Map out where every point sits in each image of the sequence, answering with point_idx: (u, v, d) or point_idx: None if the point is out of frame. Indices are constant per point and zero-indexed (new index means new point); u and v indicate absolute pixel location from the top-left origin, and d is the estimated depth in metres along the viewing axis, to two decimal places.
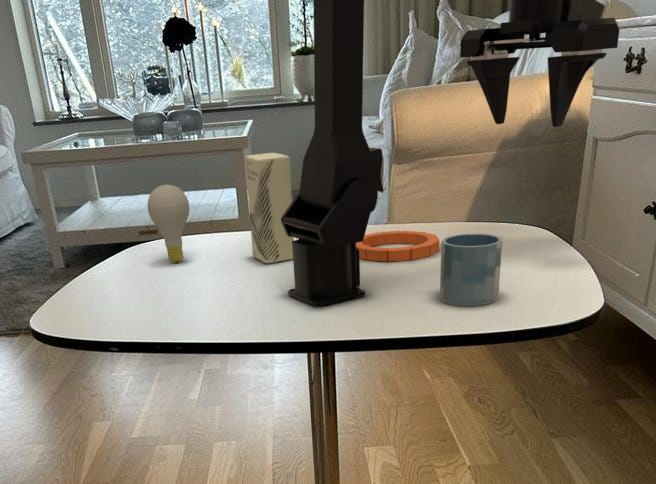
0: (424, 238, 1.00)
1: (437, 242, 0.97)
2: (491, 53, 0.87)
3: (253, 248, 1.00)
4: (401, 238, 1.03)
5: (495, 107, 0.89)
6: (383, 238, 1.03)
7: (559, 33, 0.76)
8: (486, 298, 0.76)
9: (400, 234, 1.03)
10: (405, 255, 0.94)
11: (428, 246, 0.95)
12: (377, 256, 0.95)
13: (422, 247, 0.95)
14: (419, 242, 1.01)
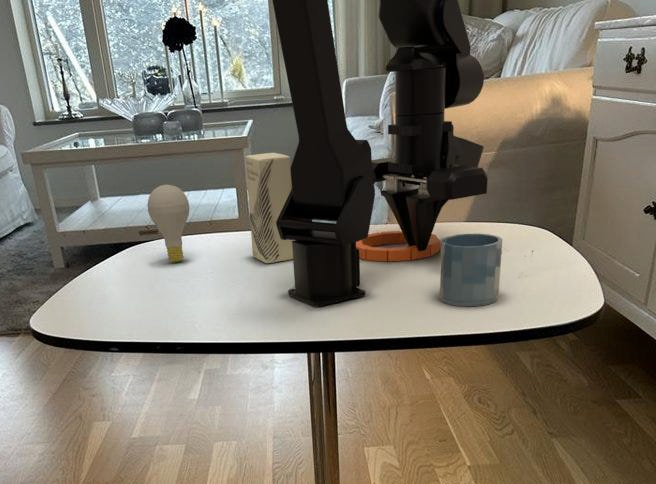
0: None
1: (437, 242, 0.97)
2: (403, 186, 0.93)
3: (253, 248, 1.00)
4: (401, 238, 1.03)
5: (408, 234, 0.94)
6: (383, 238, 1.03)
7: (433, 181, 0.84)
8: (486, 298, 0.76)
9: (400, 234, 1.03)
10: (405, 255, 0.94)
11: (428, 246, 0.95)
12: (377, 256, 0.95)
13: None
14: None
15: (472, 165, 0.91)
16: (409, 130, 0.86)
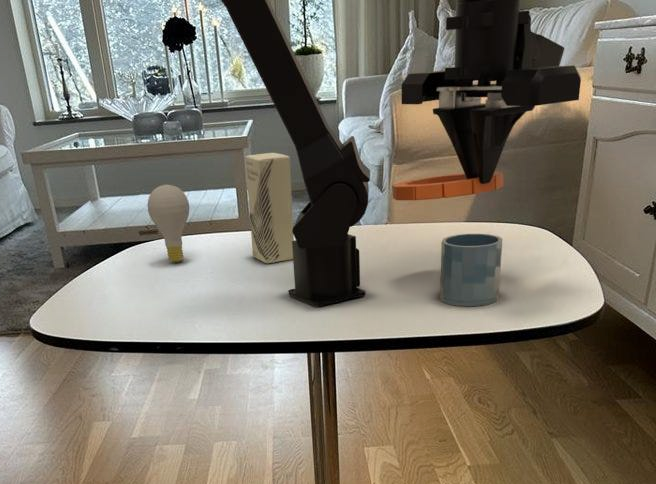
0: None
1: (501, 175, 0.78)
2: (462, 100, 0.73)
3: (253, 248, 1.00)
4: (451, 182, 0.84)
5: (467, 163, 0.75)
6: (429, 183, 0.84)
7: (511, 84, 0.65)
8: (486, 298, 0.76)
9: (450, 177, 0.84)
10: (465, 188, 0.75)
11: (493, 177, 0.76)
12: (430, 193, 0.76)
13: None
14: None
15: None
16: (477, 19, 0.66)
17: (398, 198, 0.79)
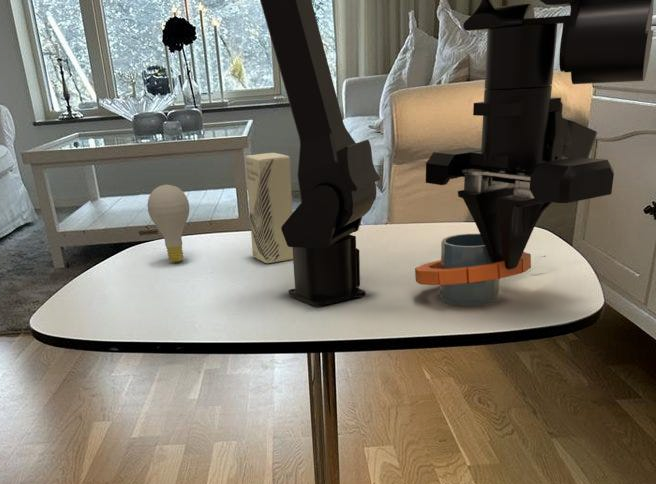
0: None
1: (529, 256, 0.75)
2: (488, 184, 0.71)
3: (253, 248, 1.00)
4: None
5: (493, 247, 0.72)
6: None
7: (540, 178, 0.62)
8: (486, 298, 0.76)
9: None
10: (491, 273, 0.72)
11: None
12: (454, 278, 0.73)
13: None
14: None
15: (582, 157, 0.69)
16: (506, 109, 0.64)
17: (421, 282, 0.76)
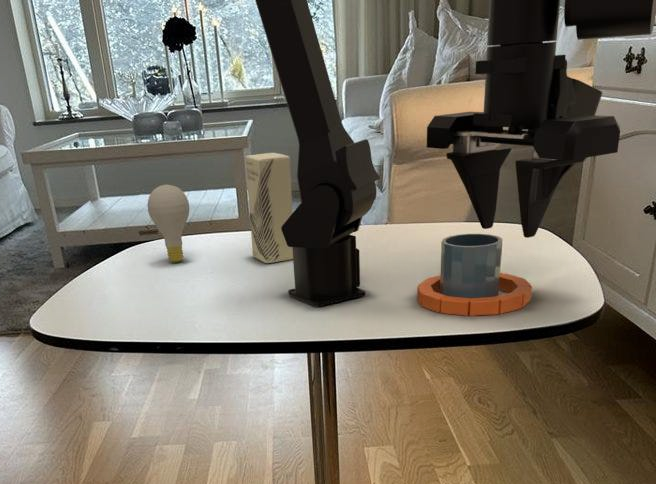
0: (510, 283, 0.79)
1: (530, 290, 0.76)
2: (476, 145, 0.70)
3: (253, 248, 1.00)
4: None
5: (481, 209, 0.72)
6: None
7: (544, 135, 0.61)
8: None
9: None
10: (492, 308, 0.73)
11: (521, 296, 0.74)
12: (455, 309, 0.74)
13: (513, 297, 0.74)
14: (502, 287, 0.80)
15: None
16: (509, 65, 0.62)
17: (422, 305, 0.77)
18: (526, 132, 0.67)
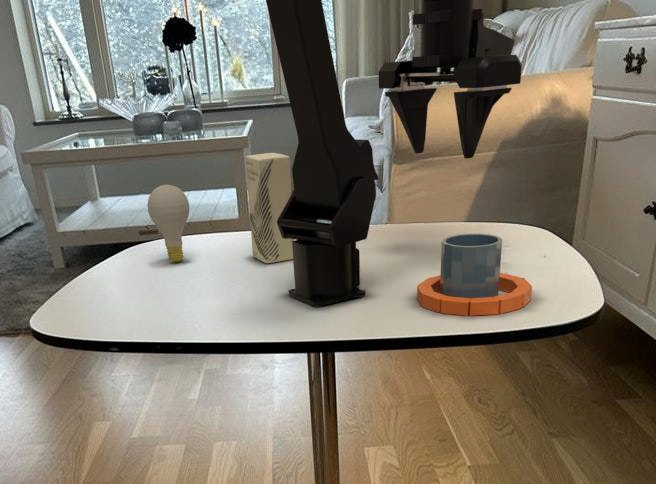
0: (510, 283, 0.79)
1: (530, 290, 0.76)
2: (408, 85, 0.89)
3: (253, 248, 1.00)
4: None
5: (413, 137, 0.91)
6: None
7: (462, 69, 0.78)
8: None
9: None
10: (492, 308, 0.73)
11: (521, 296, 0.74)
12: (455, 309, 0.74)
13: (513, 297, 0.74)
14: (502, 287, 0.80)
15: None
16: (436, 16, 0.80)
17: (422, 305, 0.77)
18: None
